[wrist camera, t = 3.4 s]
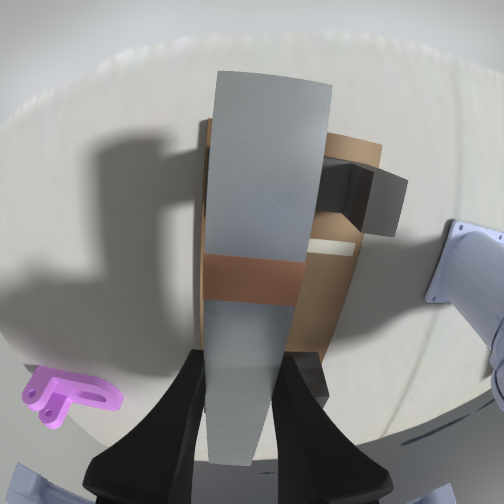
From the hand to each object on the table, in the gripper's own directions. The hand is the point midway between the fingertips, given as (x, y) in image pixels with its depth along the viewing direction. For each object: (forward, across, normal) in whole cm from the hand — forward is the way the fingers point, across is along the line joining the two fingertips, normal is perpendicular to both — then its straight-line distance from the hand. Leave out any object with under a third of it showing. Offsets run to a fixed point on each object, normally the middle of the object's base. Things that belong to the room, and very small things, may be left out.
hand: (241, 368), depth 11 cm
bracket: (+9, +20, +20) cm, 30 cm away
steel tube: (+2, 0, 0) cm, 2 cm away
